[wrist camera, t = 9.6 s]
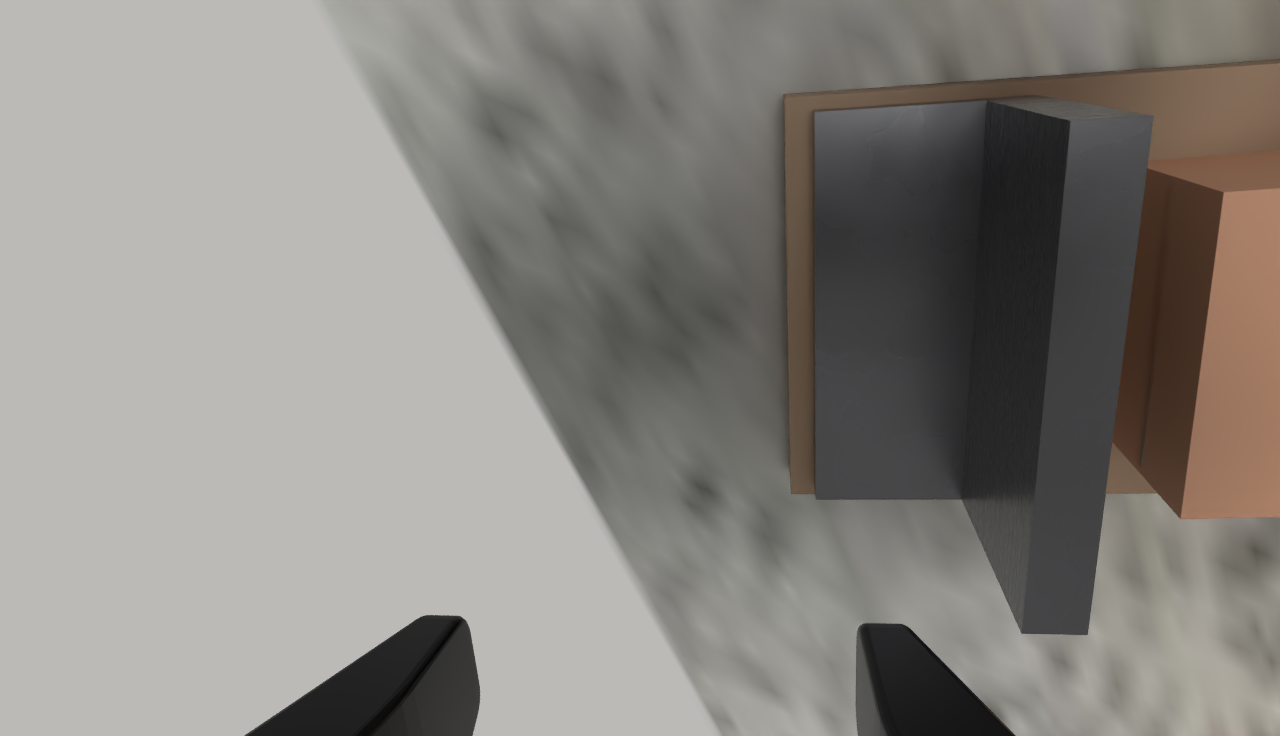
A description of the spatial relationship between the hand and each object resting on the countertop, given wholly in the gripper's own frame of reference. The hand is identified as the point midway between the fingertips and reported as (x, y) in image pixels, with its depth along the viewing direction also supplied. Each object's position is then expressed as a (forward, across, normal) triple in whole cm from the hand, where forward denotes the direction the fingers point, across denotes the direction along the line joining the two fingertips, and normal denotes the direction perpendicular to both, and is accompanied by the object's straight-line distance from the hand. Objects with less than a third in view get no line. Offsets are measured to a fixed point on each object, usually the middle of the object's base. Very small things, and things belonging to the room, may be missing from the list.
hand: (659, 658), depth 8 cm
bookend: (+11, -4, 0) cm, 11 cm away
